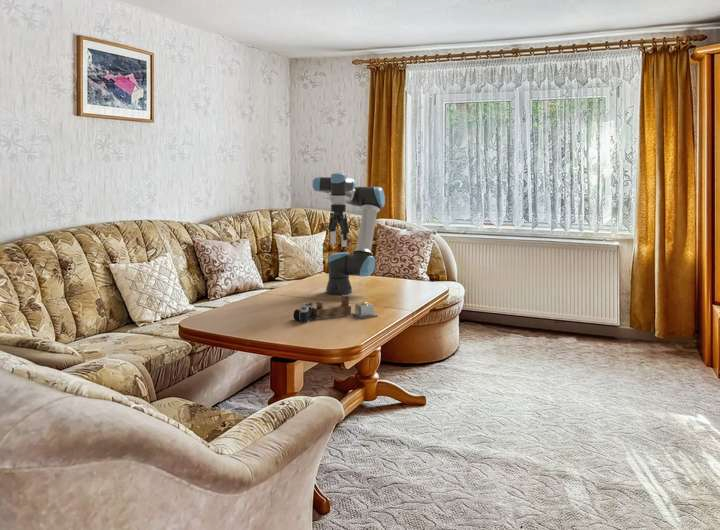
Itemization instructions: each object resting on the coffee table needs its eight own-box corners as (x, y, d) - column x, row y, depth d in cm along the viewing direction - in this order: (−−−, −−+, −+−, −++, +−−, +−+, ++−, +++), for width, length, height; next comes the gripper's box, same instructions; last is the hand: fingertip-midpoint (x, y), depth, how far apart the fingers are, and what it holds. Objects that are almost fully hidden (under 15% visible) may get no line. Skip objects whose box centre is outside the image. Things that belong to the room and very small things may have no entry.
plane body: (316, 319, 272) (316, 299, 271) (312, 316, 277) (311, 297, 276) (351, 315, 281) (351, 296, 279) (346, 312, 286) (346, 294, 284)
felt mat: (351, 314, 283) (351, 313, 283) (367, 312, 287) (367, 311, 287) (360, 318, 274) (360, 317, 274) (377, 316, 278) (377, 315, 278)
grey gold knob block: (354, 313, 281) (354, 302, 280) (367, 312, 285) (367, 300, 284) (361, 316, 276) (361, 304, 275) (373, 314, 279) (373, 303, 278)
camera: (298, 316, 279) (297, 298, 277) (314, 316, 278) (313, 298, 276) (291, 325, 266) (290, 306, 264) (308, 325, 265) (307, 307, 263)
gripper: (321, 203, 303) (322, 243, 307) (342, 205, 282) (342, 248, 285) (334, 202, 307) (335, 242, 310) (355, 204, 285) (355, 247, 288)
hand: (338, 245), depth 298 cm, fingers open, 13 cm apart
